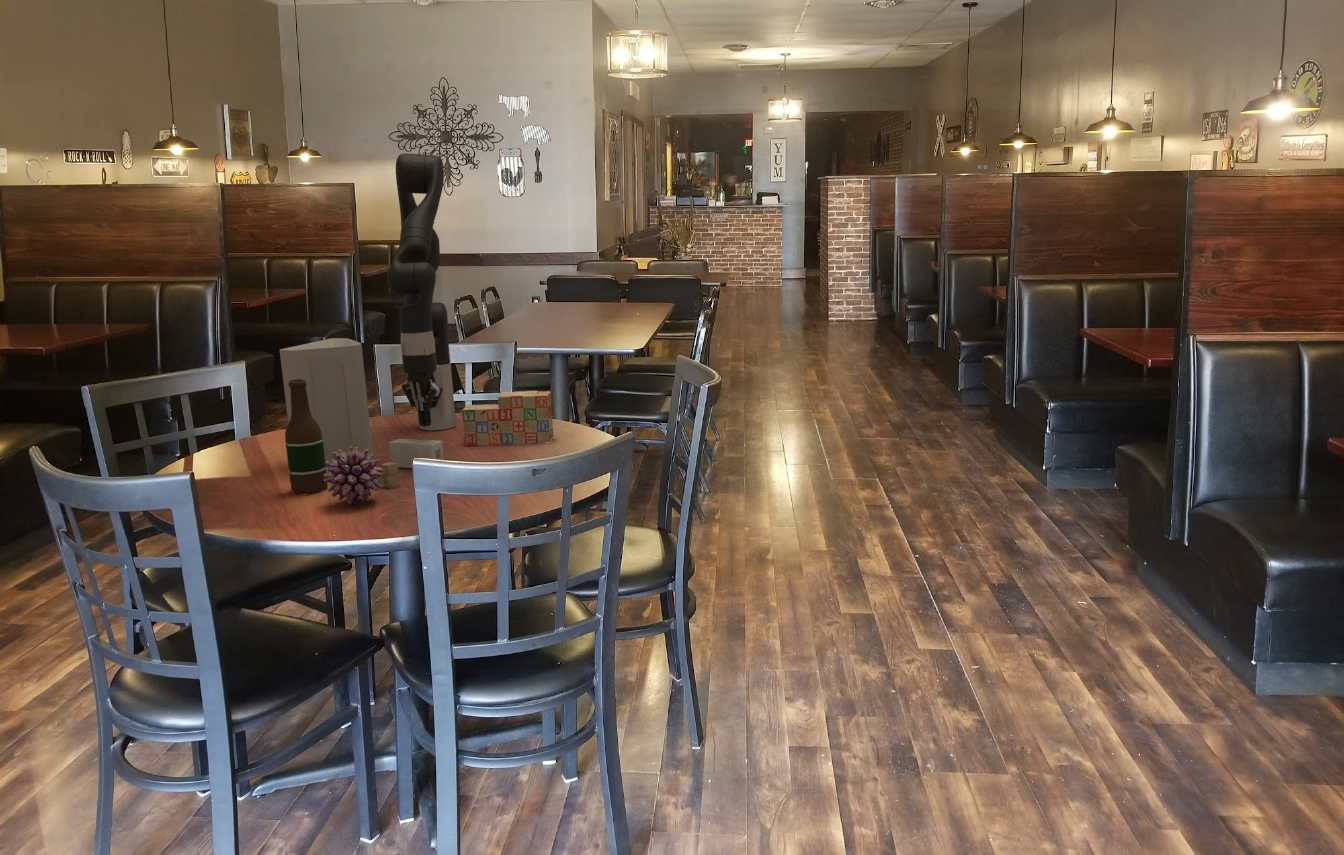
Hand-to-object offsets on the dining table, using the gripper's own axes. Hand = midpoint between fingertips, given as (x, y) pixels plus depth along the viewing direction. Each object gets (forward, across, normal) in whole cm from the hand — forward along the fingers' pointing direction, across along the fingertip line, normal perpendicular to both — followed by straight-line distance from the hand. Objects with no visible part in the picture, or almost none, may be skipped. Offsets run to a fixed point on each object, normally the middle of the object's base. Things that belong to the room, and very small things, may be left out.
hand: (425, 425), depth 253 cm
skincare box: (+6, +6, -1) cm, 9 cm away
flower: (+9, +16, -29) cm, 34 cm away
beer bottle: (+9, -2, -29) cm, 31 cm away
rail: (+9, 0, -17) cm, 19 cm away
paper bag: (+9, -20, -10) cm, 24 cm away
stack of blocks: (+9, -1, +25) cm, 27 cm away
